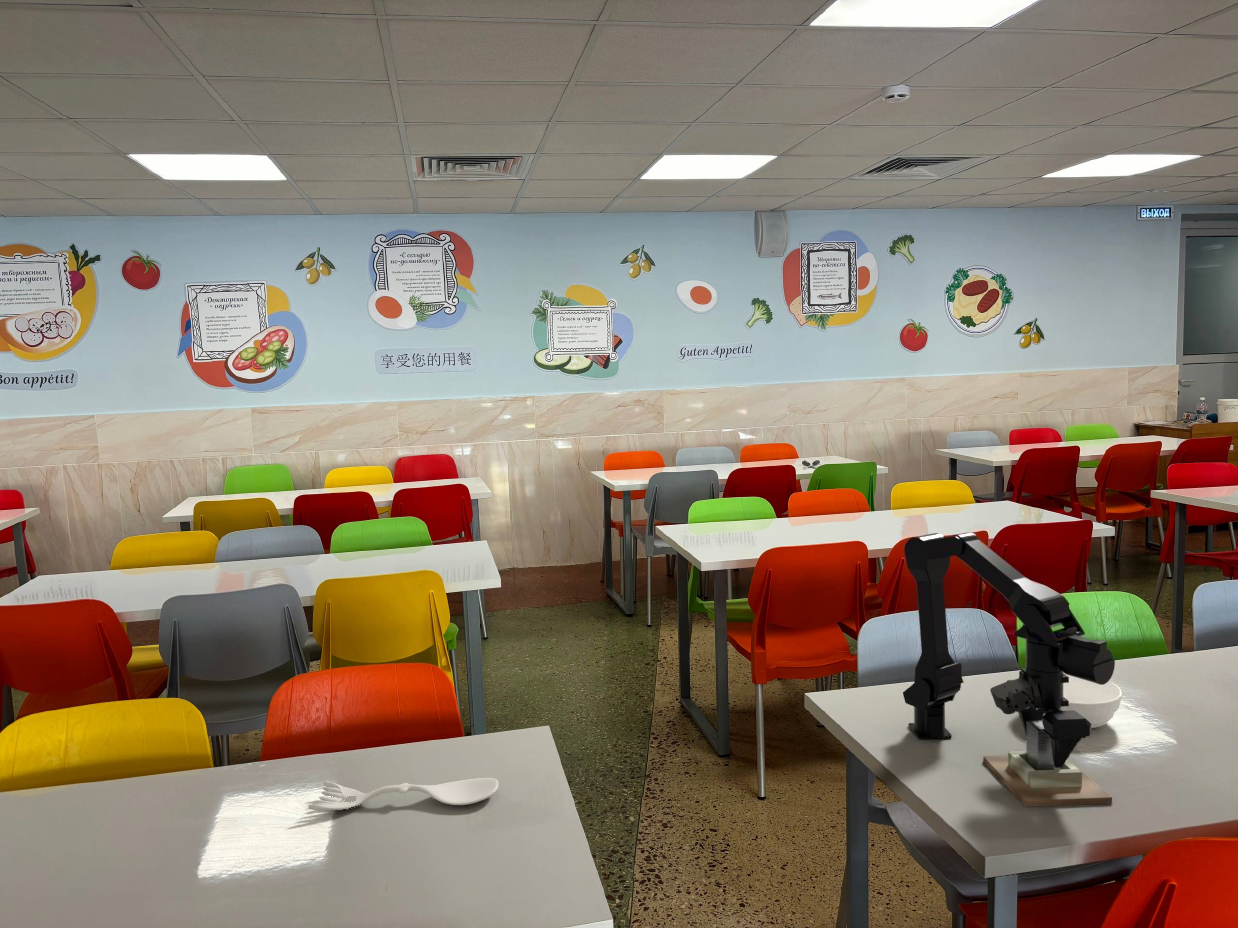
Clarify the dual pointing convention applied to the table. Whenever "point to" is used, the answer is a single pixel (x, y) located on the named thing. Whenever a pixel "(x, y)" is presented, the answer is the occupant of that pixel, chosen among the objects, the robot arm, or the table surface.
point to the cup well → (1045, 782)
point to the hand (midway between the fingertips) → (1044, 754)
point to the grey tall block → (1038, 747)
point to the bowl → (1092, 700)
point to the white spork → (445, 792)
